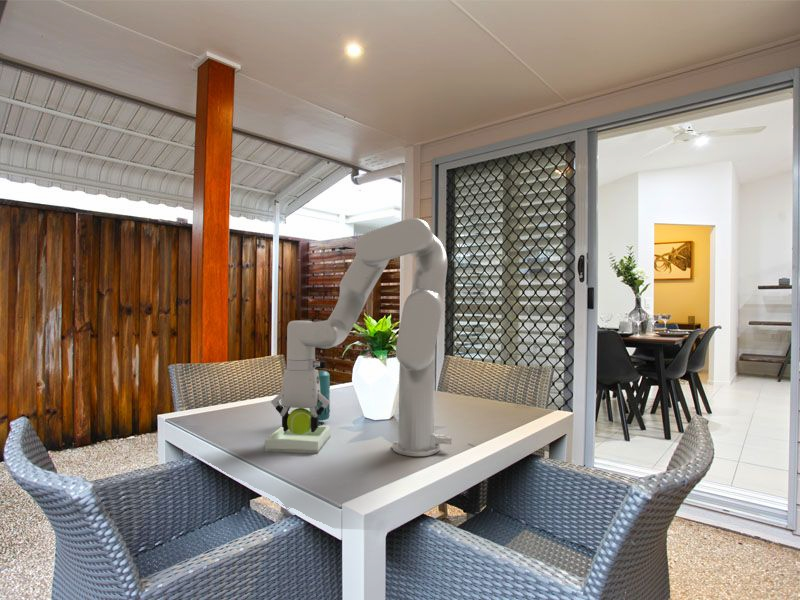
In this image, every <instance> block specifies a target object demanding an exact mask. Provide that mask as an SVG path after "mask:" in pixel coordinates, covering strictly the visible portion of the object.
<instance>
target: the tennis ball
mask: <svg viewBox="0 0 800 600" xmlns="http://www.w3.org/2000/svg"><path fill="white" fill-rule="evenodd" d="M288 414H289V416H288V419H287V425H288V428H289V430H290V431H291V432H293V433H294V434H298V435H300V434H305V433H307V432H308V431H309V430H310V429H311V418H312V417H313V416H312V414H311V413H310V410H308V408H295V409H293V410H292V411H291V412H290V413H288Z"/></svg>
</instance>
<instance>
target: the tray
mask: <svg viewBox="0 0 800 600" xmlns="http://www.w3.org/2000/svg"><path fill="white" fill-rule="evenodd" d="M331 432H332V426H331V425H318V428H317V429H316V430H315V431H314V432H311V429H310V430H309V431H308V432H307V433H305V434H300V435H298V434H294V433H293V432H291V431H290V430H289V429H288V430H287V431H283V427H282V425H281V426H280V427H279V428H278V429H277V430H275V431H274V432H273V433H271V434H270V435H269V436H268V437H267V438H266V439H265V440H264V452H270V453H271V452H273V453H275V452H277V453H295V454H299V453H302V454H303V453H304V454H319V453H320V451H321V450H322V448H323V447H324V446H325V445H326V444H327V443H328V441H329V439H330V438H331V437H332V436H331V435H332V433H331Z"/></svg>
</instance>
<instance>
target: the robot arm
mask: <svg viewBox="0 0 800 600" xmlns="http://www.w3.org/2000/svg"><path fill="white" fill-rule="evenodd" d="M354 248H355V249H354V250H355V251H354V252H355V257H353V261H351V263H350V265H349V267H348V268H347V271H346V272H345V274H344V275H343V277H342V279H340V283H339V284H340V285H339V296H338V300H337V302H336V304H335V307H334V309H333V311H332V312H331V314H330V315H329V317H328V319H326V320H319V321H311V320H303V319H302V320H291V321H289V322H288V324H287V329H286V330H287V332H286V333H287V334H286V335H287V337H286V338H287V339H286V369H285V370H283V371H284V372H283V377H282V381H281V382H282V383H281V390H280V393H278V395H277V396H275V397H274V398H273V399H272V400H270V402H271V404H272V406H273V407H274V408H275V410H276V411H277V412H278V414H279V415H280V417H281V426H282V427H283V431H287V430H288V429H289V428H288V425H287V419H288V416H289V414H290V413H289V411H290V409H291V408H293V409H294V408H295V409H297V408H304V409H309V411H310V410H311V412H312V414H313V417H312V418H311V432H314V431H315V430H316V429H317V428H318V426H319V421H318V417H319V414H320V413H321V412H322V411H323V410H324V409H325V408H326V407H327V406H328V405H329V406H330V404H331V400H330V399H329V400H328V399H326V398H325V397H324V396H323V395H322V394H321V393H320V381H319V374H318V371H319V370H318V369H316V368H315V367H317V366H320V362H317V361H318V360H317V359H316V348H318V349H324V350H325V349H331V348H333V347H335V346H338V345H340V344H342V343H343V342H345V340H346V339H347V337H348V336H349V334H350V333H351V331H352V329H353V328H354V326H355V324H356V322H357V321H358V320H359V317H360V314H361V313H362V310H363V308H364V307H365V305H366V303H367V300H368V298H369V296H370V294H371V293H372V291H373V290H374V287H375V286H376V284H377V283H378V281H379V279H380V277H381V276H382V275H383V273H384V271H385V269H386V267H387V266H388V264H389V263H390V260H393V259H397V258H399V257H403V256H406V255H409V254H410V256H413V258H414V259H415V268H414V269H415V270H414V273H413V282H412V286H411V292H410V293H409V295H407V297H406V299H405V301H404V303H403V307H402V312H401V317H400V318H401V319H400V323H399V330H398V334H397V339H396V344H395V345H396V346H395V356H396V359H397V361H398V362H399V371H398V373H399V374H398V376H399V377H398V383H399V384H398V432H397V433H398V439H397V440H395V441H393V442H392V450H393V451H394V452H395V453H397V454H399V455H404V456H407V457H426V456H432V455H435V454H437V453H439V451H441V450H440V449H441V445H452V436H447V434H438V433H436V429H435V390H436V387H435V386H436V383H435V382H436V379H435V378H436V344H437V339H438V334H439V330H440V329H439V328H440V323H441V318H442V312H443V300H444V299H443V298H444V292H445V288H446V287H445V286H446V278H447V273H448V272H447V271H448V256H447V252H446V249H445V247H444V245H443V243H442V242H441V240H440V239H439V238H438V237H437V236H436V235H435V234H434V233H433V231H432V229H431V227H430V225H429V224H428V222H426V221H425V220H423V219H421V218H417V217H414V218H413V217H412V218H406V219H403V220H400V221H397V222H394V223H391V224H389V225H384V226H381V227H379V228H376V229H373V230H370V231H367V232H365V233H363V234H362V235H360V236H359V238H358V239H357V240H356V243H355V245H354ZM279 401H280V402H279ZM320 401H321V402H322V403H323V405H322V406H321V407H320V408H319V409H318V407H317V404H319V403H320Z"/></svg>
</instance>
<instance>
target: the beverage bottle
mask: <svg viewBox="0 0 800 600" xmlns="http://www.w3.org/2000/svg"><path fill="white" fill-rule="evenodd" d="M316 361H317V362H320V366H317V367H315V369H325V368H327V361H326V360H316ZM318 374H319V381H320V393H321V394H322V395H323V396H324V397H325V398H326V399H328V400H329V401H330V394H331V391H330V388H331V386H330V385H331V381H330V380H331V379H330V377H331V376H330V375H331V374H330V373H329V371H326V370H318ZM322 405H323V403H322V402H321V401H320V403H319V404H317V407H318V409H319V408H320V407H321V406H322ZM309 411H310V413H311V414H312V412H311V410H310V409H309ZM330 414H331V409H330V404H329V405H328V406H327V407H326V408H325V409H324V410H323V411H322V412H321V413H320V414H319V417H318V422H319V421H325V420H329V419H330ZM312 416H313V414H312Z"/></svg>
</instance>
